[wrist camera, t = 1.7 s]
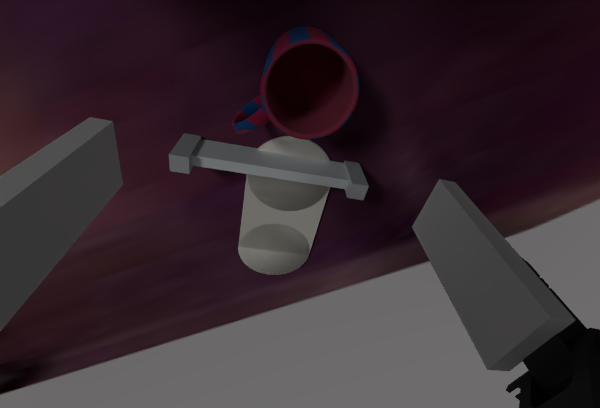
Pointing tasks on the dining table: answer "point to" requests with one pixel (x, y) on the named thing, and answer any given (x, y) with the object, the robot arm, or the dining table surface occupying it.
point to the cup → (303, 87)
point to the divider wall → (266, 164)
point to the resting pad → (281, 213)
